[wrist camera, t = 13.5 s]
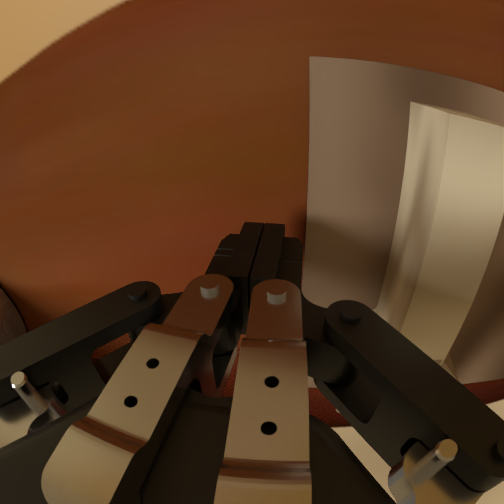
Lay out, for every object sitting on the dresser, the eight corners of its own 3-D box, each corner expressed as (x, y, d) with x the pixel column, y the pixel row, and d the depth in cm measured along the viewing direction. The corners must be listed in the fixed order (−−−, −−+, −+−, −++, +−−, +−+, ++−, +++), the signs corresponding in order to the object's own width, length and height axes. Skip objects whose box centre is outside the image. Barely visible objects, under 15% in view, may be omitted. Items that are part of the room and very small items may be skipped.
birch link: (418, 375, 16) (427, 422, 13) (330, 375, 17) (330, 426, 14) (498, 121, 9) (550, 143, 6) (370, 95, 10) (397, 103, 7)
